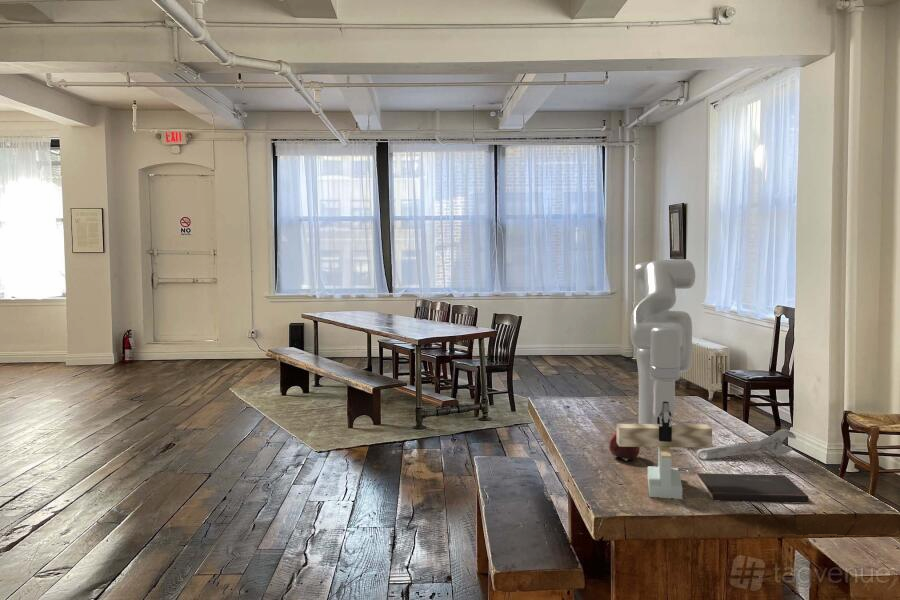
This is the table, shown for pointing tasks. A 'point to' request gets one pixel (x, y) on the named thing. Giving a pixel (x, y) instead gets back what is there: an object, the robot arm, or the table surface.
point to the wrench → (751, 446)
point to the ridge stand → (664, 477)
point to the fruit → (623, 450)
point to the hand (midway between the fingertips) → (664, 436)
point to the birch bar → (650, 435)
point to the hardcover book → (751, 488)
